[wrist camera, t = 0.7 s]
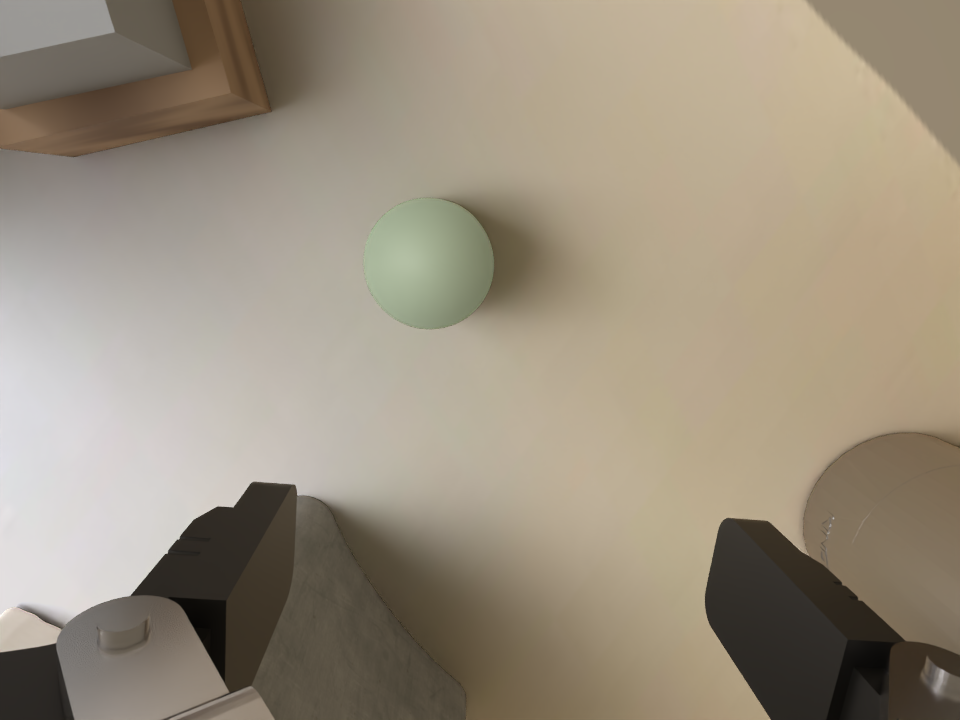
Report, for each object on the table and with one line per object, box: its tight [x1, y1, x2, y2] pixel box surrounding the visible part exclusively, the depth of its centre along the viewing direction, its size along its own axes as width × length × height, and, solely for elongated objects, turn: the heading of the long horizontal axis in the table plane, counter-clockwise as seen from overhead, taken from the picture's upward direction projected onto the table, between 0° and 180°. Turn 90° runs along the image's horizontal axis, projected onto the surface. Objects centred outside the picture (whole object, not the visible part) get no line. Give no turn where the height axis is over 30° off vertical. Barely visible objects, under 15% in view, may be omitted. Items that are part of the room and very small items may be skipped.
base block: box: [0, 0, 272, 157], centre depth 24 cm, size 9×9×5 cm
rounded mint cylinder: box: [363, 198, 494, 329], centre depth 26 cm, size 5×5×5 cm
